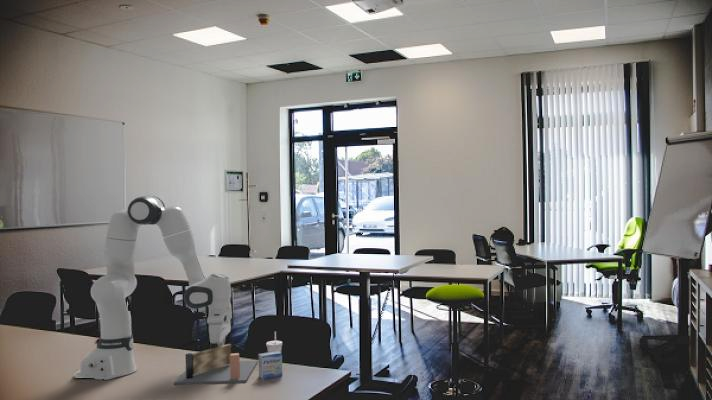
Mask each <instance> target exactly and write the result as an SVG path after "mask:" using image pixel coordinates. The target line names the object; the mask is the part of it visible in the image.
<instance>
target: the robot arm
mask: <svg viewBox="0 0 712 400" xmlns="http://www.w3.org/2000/svg"><path fill="white" fill-rule="evenodd" d="M189 223H190V222H189V221H188V218H187V216H186V214H185V213H184V210H182V208H181V207H178V206H175V205H174V206H165V203H164V201H163V200H161V198H159V197H157V196H153V195H144V196H139V197H136V198H134V199H133V200H132V201H131V202H130V203H129V204H128V207H127V209H122V210H121V209H120V210H117V211H115V212H114V213H112V215H111V217H110V220H109V222H108V227H107V231H106V237H105V245H104V250H103V251H104V252H103V259H104V261H105V265H106V274H105V275H103V276H100V277H99V278H97V280H96V281H94V283H92V286H91V287H90V296H91V298H92V300H93V301H94V302H95V304H96V307H97V312H98V314H99V322H100V336H99V338H97V339H96V340H95V341H94V345H96V347H95V348H94V349H93V350H91V351H90V352H89V353H88V354H86V356H85V357H83V358H82V360H81V363H80V368H79V370H78V371H76V372H75V373H73V378H74V377H83V378H95V379H94V380H102V379H104V380H111V379H115V378H118V377H124V376H126V375H130V374H132V373H134V372H136V371H137V370H138V368H137V365H136V361H135V356H134V351H133V349H134V336H133V333H132V315H131V312H130V311H129V309H128V306H127V302H126V298H127V297H129V296H130V295H132V294H133V292H134V291H135V289H136V288H137V285H138V280H137V277H136V276H135V275H136V273H135V270H136V269H135V253H136V252H135V251H136V246H137V238H138V231H139V228H140V226H141V225H144V226H145V225H147V226H148V225H152V226H153V225H156V226H158V228H159V230H160V232H161V236H162V238H163V242H164V245H165V246H166V248H167V250H168V252H169V254H170V255H172V256H174V257H175V258H176V259H178V261H180V263H181V264H182V267H183V270H184V272H185V275H186V279H187V280H188V287H187V289H186V290H185V292H184V293H183V301H184V303H185V305H186V306H187V307H188V308H190V309H201V308H205V307H208V316H207V319H206V323H207V324H208V333H209V334H208V336H209V337H208V338H209V342H210V344H213V345H215V344H217V347H219V346H223V345H225V342H226V337H227V336H228V334H229V333H230V332H231V329H232V327H231V319H232V315H233V313H232V303H231V297H232V289H231V288H232V287H231V281H230V279H229V277H228V276H227V275H224V274H221V273H219V274H218V273H212V274H210V275H209V276H208V277H205V276H204V273H203V271H202V268H201V265H200V261H199V259H198V256H197V252H196V246H195V240H194V239H195V238H194V236H193V235H194V234H193V231H192V229H191V225H190V224H189Z"/></svg>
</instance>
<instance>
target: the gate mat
mask: <svg viewBox="0 0 712 400" xmlns="http://www.w3.org/2000/svg"><path fill="white" fill-rule="evenodd" d="M258 364H259V360H240V378H239V379H231V378H230V364H228V365H224V366H221V367H218V368H215V369H211V370H208V371H205V372H202V373H198V374H195V375H193V378H190V379H187V378H186V370H185V371H184V372H183V373H182V374H181V375H180V376H179V377H178V378H177V379H176V380H174V384H173V385H201V384H205V385H207V384H208V385H209V384H232V383H234V384H235V383H237V384H238V383H247V382H248V380H249V378H250V377H251V375H252V373H253V371H254V370H255V368H256V366H257V365H258Z"/></svg>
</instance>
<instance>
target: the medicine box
mask: <svg viewBox="0 0 712 400" xmlns="http://www.w3.org/2000/svg"><path fill="white" fill-rule="evenodd" d="M257 356H258V357H257V358H258V377H259V378H260V379H262V380H269V379H274V378H278V377H282V376H283V354H282V351H281V352H279V351H274V352H268V351H267V352H264V353H258V355H257Z"/></svg>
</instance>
